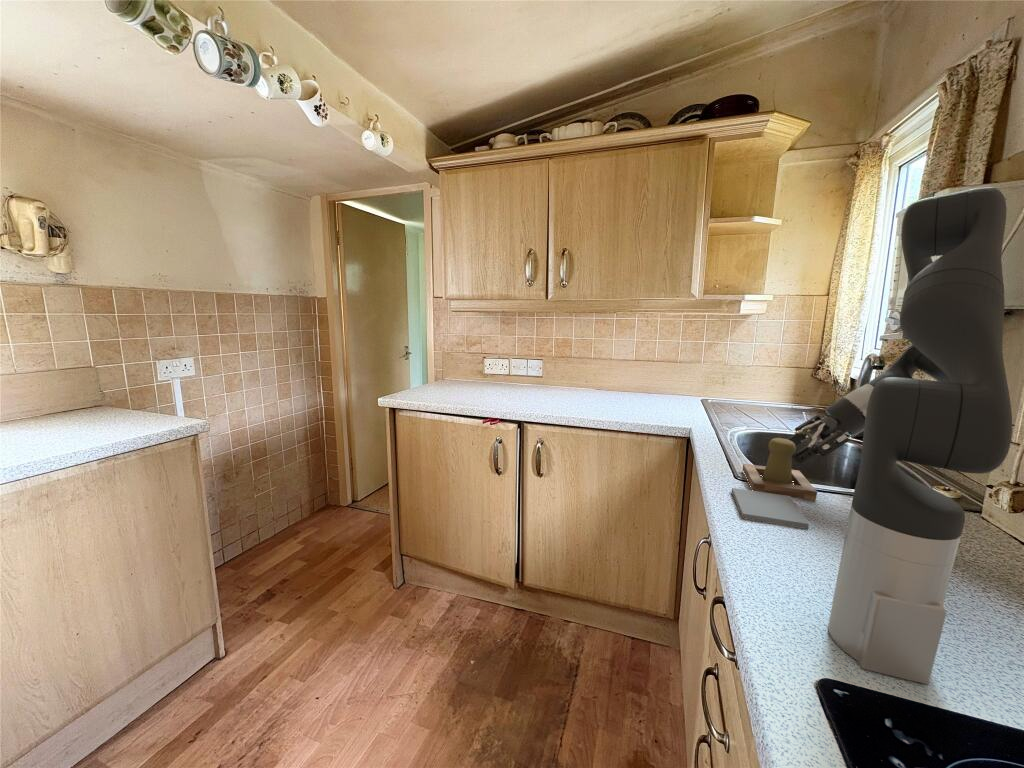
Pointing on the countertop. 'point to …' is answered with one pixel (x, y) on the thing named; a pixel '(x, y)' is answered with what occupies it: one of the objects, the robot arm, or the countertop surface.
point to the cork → (779, 461)
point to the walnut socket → (797, 490)
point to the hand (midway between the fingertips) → (789, 453)
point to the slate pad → (769, 508)
